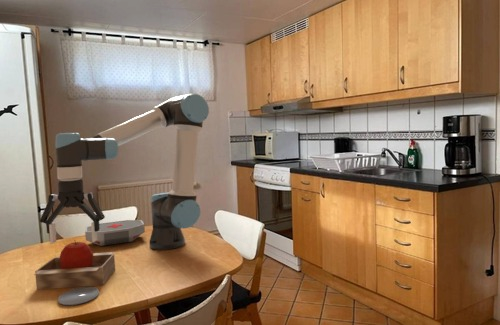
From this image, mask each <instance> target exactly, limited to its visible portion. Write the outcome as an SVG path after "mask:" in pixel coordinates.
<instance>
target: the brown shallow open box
mask: <svg viewBox="0 0 500 325" xmlns="http://www.w3.org/2000/svg"><path fill="white" fill-rule="evenodd" d="M59 258H60V255H58V256H55V257H53V258H51V259H50V260H49V261H47V262H46V263H44V264H43V265H42V266H40V267H39V268H37V269H36V270H35V272H34V274H33V275H34V276H35V284H36V286H35V287H36V290H50V289H60V288H61V289H64V288H80V287H95V286H104V285H105V284H106V283H107V281H109V279H110V278H111V276H113V274H114V273H115V271H116V262H115V261H116V260H115V253H114V251H113V252H112V251H111V252H109V251H108V252H95V253H94V252H93V263H92V267H88V268H72V269H61V264H60V259H59Z"/></svg>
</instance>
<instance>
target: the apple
mask: <svg viewBox="0 0 500 325" xmlns="http://www.w3.org/2000/svg"><path fill="white" fill-rule="evenodd" d="M93 253H94V252H93V250H92V248H91V246H89V245H88V244H87V243H86V242H81V241H79V242H78V241H77V242H76V241H74V242H71V243H68V244H66V245H65V246H64V247H63V249H62V250H61V252H60V255H59V256H60V258H59V259H60V264H61V269H72V268H88V267H92V263H93Z"/></svg>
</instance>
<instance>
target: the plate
mask: <svg viewBox="0 0 500 325" xmlns="http://www.w3.org/2000/svg"><path fill="white" fill-rule="evenodd" d="M97 296H99V289H98V288H97V287H95V286H81V287H75V288H73V289H70V290H67V291H65V292H63V293H61V294H60V295H59V296H58V299H57V300H58V303H59V304H60V305H63V306H74V305H81V304H84V303H87V302H89V301H92V300H93V299H95V298H96V297H97Z"/></svg>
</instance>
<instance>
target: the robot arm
mask: <svg viewBox="0 0 500 325" xmlns="http://www.w3.org/2000/svg"><path fill="white" fill-rule="evenodd" d="M209 110H210V109H209V104H208V102H207V100H206V99H205V97H203V96H202V95H200V94H197V93H186V94H181V95H179V96H178V95H177V96H172V97H171V98H169V99H168V100H166V101H164V102H162V103H160V104H158V105H156V106H153V107H152V110H150V111H148V112H145V113H144V114H141V115H139V116H135V117H133V118H131V119H129V120H127V121H124V122H123V123H120V124H118V125H115V126H113V127H111V128H108V129H106V130H103V131H100V132H99V133H97V134H95V135H93V136H90V137H87V138H82V137H81V134H80V133H79V132H60V133H57V134H56V135H55V145H54V146H55V147H54V148H55V157H56V173H57V174H56V176H57V179H58V181H57V189H58V194H56V193H52V194H49V195H48V201H47V204H46V206H45V208H44V210H43V213H42V215H41V217H40V219H39V222H40V223H41V224H42V223H43V224H46V233H47V234H49V243H50V245H52V244H55V243H56V242H57V233H56V232H57V227H56V222H54V220H55V219H56V218H58V215H59V214H60V213H61V212H62V211H63V209H64V208H77V207H78V208H79V209H81V210H82V211H83V213H84V214H86V216H88V217H89V219H90V220H91V221H92V222H91V223H90V226H91V228H92V242H95V241H96V240H97V231H99V229H100V227H99V224H100V221H103V220H104V219H105V218H106V217H105V214H104V212H103V211H102V209H101V208H100V205H99V204H98V202H97V201H96V198H95V194H94V192H92V191H91V192H89V193H85V192H84V181H83V179H82V178H83V176H84V175H83V163H82V162H83V161H84V162H85V161H103V160H106V161H108V160H114V159H116V158H117V157H118V154H119V146H122V145H124V144H126V143H128V142H129V143H130V141H132V140H135V139H137V138H139V137H142V136H144V135H145V134H148V133H149V132H150V133H151V132H152V131H155V130H157V129H159V128H162V129H164V128H165V129H166V128H167V127H169V126H172V125H173V128H175V130H176V137H175V138H176V139H175V148H174V149H175V150H174V161H173V173H172V174H173V175H172V185H171V186H172V187H171V190H170V191H168V192H160V193H155V194H152V195H151V197H150V205H151V206H150V209H151V221H152V229H151V235H150V238H149V243H148V244H149V248H151V249H152V250H158V251H163V250H164V251H167V250H173V249H177V248H180V247H182V246H184V245H185V244H186V240H185V238H186V237H185V234H184V233H183V230H182V229H188V228H191V227H193V226H194V225H196V223H198V221H199V219H200V216H201V206H200V205H199V204H198V202H197V196H198V195H197V193H196V192H195V191H194V188H195V185H194V184H195V174H196V164H197V149H198V140H199V139H198V136H199V132H200V131H201V130H203V122H204V121H205V120H206V119H208V117H209V114H210V111H209ZM84 199H86V200H87V201H88V203H89V204H90V206H91V208H92V209H91V208H90V207H89V205H87V203H86V202H85V201H84ZM57 200H58V201H59V202H60V203H59V204H58V205H57V207H56V208H55V209H54V210H53V208H54V205H55V203H56V201H57ZM52 210H53V212H52V213H51V211H52ZM50 214H51V215H50ZM92 242H91V243H92Z"/></svg>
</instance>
